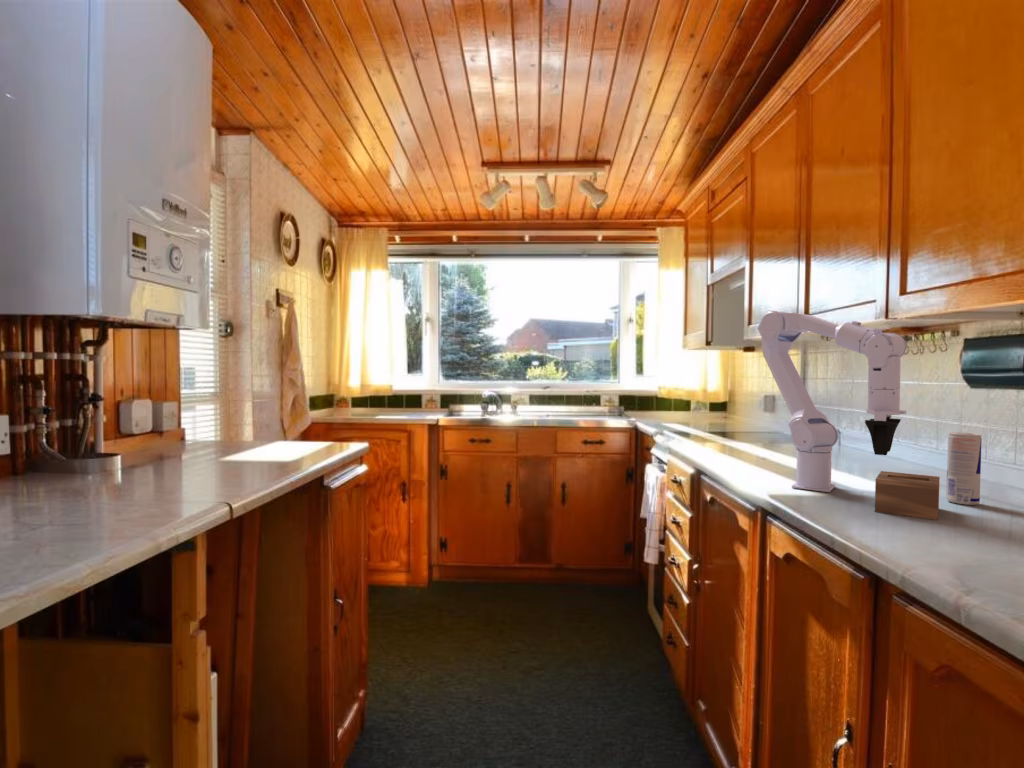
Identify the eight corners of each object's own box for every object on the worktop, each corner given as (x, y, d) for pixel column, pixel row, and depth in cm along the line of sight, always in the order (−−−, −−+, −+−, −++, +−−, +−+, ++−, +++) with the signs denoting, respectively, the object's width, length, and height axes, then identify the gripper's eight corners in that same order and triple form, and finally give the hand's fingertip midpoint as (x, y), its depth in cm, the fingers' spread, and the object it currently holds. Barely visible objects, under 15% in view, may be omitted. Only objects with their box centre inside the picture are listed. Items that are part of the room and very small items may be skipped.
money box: (880, 501, 122) (881, 470, 122) (938, 508, 116) (939, 476, 116) (874, 511, 113) (875, 478, 113) (937, 520, 107) (938, 485, 107)
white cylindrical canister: (985, 506, 118) (987, 434, 118) (955, 505, 120) (957, 433, 119) (969, 500, 124) (972, 432, 124) (940, 499, 125) (942, 431, 125)
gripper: (904, 390, 114) (902, 458, 114) (908, 389, 125) (907, 451, 125) (863, 389, 118) (861, 455, 118) (870, 388, 129) (869, 448, 130)
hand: (882, 452), depth 122 cm, fingers open, 7 cm apart
